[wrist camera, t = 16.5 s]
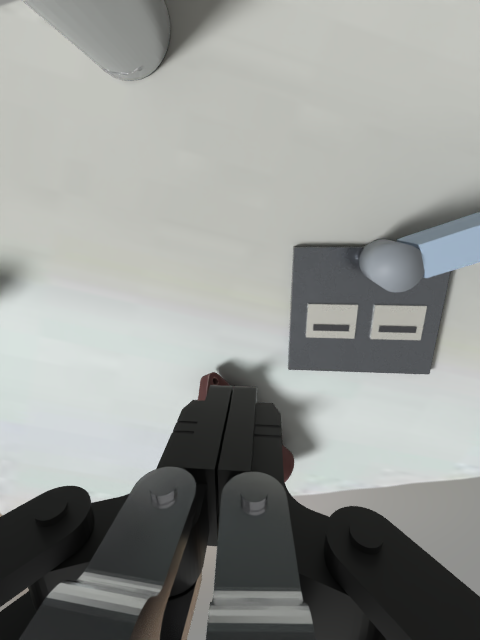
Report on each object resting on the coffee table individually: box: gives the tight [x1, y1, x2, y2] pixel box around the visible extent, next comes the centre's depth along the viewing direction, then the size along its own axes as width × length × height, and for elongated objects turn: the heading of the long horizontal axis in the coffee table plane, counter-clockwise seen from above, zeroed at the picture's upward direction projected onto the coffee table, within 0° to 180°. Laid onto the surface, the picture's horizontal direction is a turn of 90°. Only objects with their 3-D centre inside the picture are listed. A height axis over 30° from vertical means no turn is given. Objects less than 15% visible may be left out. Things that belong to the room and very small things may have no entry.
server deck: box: [288, 245, 450, 374], centre depth 39 cm, size 16×18×4 cm
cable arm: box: [359, 212, 480, 292], centre depth 31 cm, size 17×5×6 cm, turn 110°
